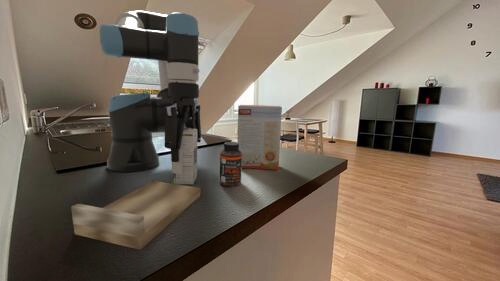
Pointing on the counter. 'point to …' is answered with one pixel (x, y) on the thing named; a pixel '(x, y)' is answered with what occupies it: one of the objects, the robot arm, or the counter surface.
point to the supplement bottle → (230, 164)
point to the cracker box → (259, 136)
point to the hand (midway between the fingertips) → (185, 168)
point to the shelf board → (134, 214)
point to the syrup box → (188, 158)
